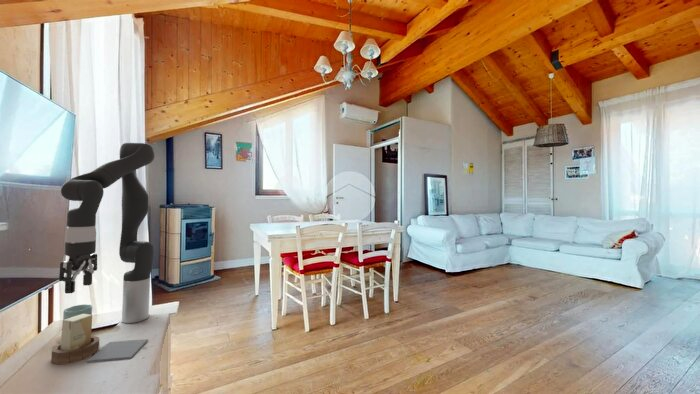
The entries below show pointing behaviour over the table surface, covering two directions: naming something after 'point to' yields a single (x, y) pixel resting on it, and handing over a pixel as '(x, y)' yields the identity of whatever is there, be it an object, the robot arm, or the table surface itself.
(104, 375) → the table surface
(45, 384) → the table surface
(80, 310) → the cup
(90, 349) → the holder ring
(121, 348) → the mat
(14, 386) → the table surface
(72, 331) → the skincare box
